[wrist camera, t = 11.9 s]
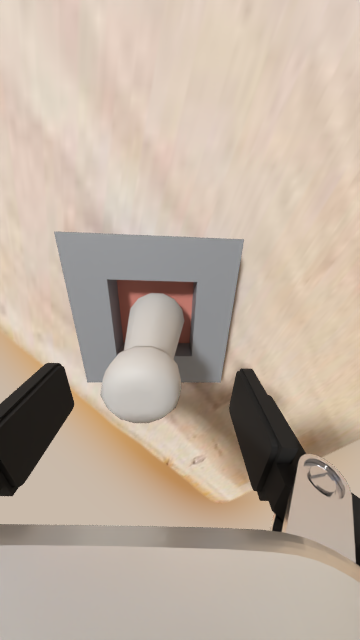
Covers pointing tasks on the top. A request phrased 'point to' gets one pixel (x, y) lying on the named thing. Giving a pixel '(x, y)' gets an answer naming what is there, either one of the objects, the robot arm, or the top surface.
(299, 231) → the top surface
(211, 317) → the socket board
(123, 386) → the white bulbous peg
